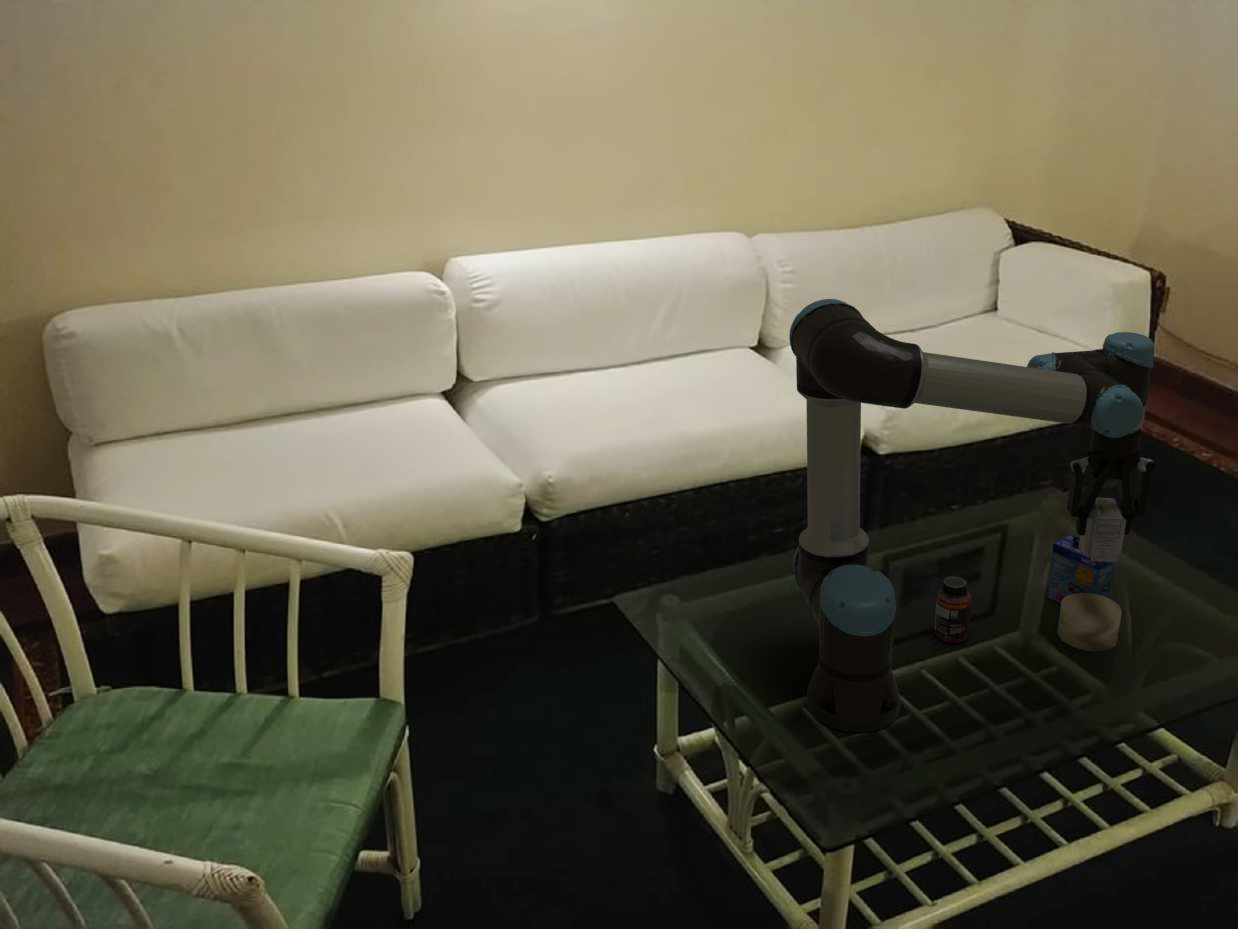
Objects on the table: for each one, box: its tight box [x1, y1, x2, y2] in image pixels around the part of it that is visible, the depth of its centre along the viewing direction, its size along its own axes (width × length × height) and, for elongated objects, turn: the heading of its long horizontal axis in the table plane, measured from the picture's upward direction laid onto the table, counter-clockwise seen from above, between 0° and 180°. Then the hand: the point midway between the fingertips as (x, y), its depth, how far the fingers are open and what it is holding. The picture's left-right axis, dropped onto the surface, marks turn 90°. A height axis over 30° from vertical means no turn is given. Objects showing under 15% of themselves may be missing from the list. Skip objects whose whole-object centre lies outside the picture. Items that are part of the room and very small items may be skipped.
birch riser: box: [1057, 593, 1123, 652], centre depth 202 cm, size 10×10×6 cm
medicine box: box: [1088, 497, 1123, 563], centre depth 194 cm, size 8×4×9 cm, turn 169°
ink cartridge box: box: [1046, 533, 1115, 604], centre depth 210 cm, size 10×6×14 cm, turn 38°
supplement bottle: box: [934, 575, 972, 644], centre depth 203 cm, size 6×6×11 cm
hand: (1099, 550), depth 196 cm, fingers closed on medicine box, 5 cm apart
